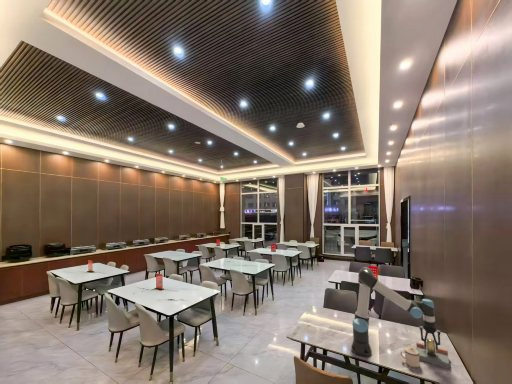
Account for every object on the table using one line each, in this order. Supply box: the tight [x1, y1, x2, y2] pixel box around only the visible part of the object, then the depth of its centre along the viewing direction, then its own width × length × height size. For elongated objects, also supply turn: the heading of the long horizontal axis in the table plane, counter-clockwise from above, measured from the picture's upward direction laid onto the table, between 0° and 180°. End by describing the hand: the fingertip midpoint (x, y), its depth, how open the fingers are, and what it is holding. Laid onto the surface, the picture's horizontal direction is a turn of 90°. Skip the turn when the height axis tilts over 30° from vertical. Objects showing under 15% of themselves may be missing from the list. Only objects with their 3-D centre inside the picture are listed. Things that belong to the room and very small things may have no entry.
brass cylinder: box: [426, 338, 435, 356], centre depth 180 cm, size 5×5×10 cm
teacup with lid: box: [400, 346, 421, 368], centre depth 174 cm, size 12×9×12 cm
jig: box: [415, 341, 450, 370], centre depth 180 cm, size 20×16×6 cm
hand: (431, 352), depth 179 cm, fingers closed on brass cylinder, 5 cm apart
